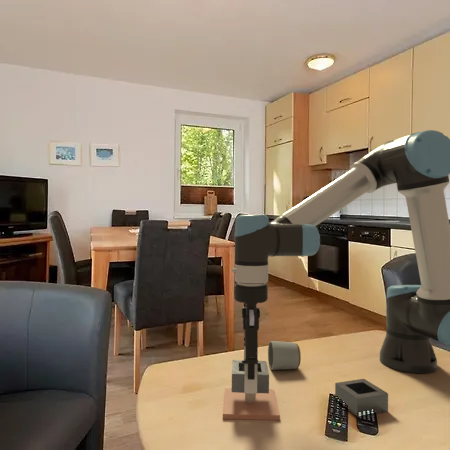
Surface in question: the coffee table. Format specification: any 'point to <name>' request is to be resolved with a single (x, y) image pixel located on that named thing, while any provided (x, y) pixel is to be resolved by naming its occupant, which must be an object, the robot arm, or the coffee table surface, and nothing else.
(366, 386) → the grey square hollow block
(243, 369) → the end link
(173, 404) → the coffee table surface
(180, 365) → the coffee table surface
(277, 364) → the ceramic mug
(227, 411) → the brown base with peg
